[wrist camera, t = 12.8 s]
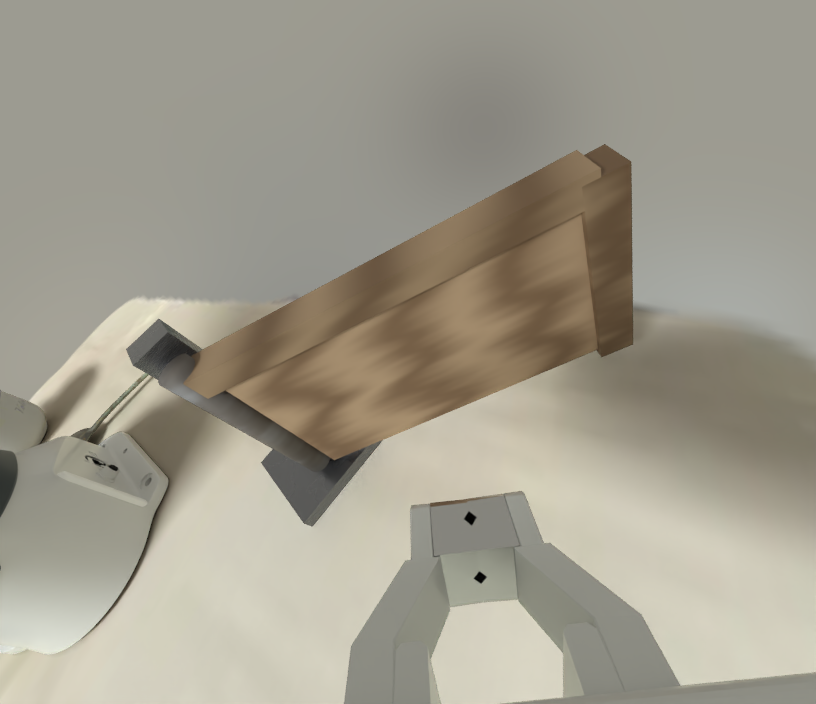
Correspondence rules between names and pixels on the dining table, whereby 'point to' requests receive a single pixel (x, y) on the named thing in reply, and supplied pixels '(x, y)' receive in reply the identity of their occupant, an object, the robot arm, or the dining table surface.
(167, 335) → the gate post
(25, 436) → the teacup
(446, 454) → the dining table surface
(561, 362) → the gate
